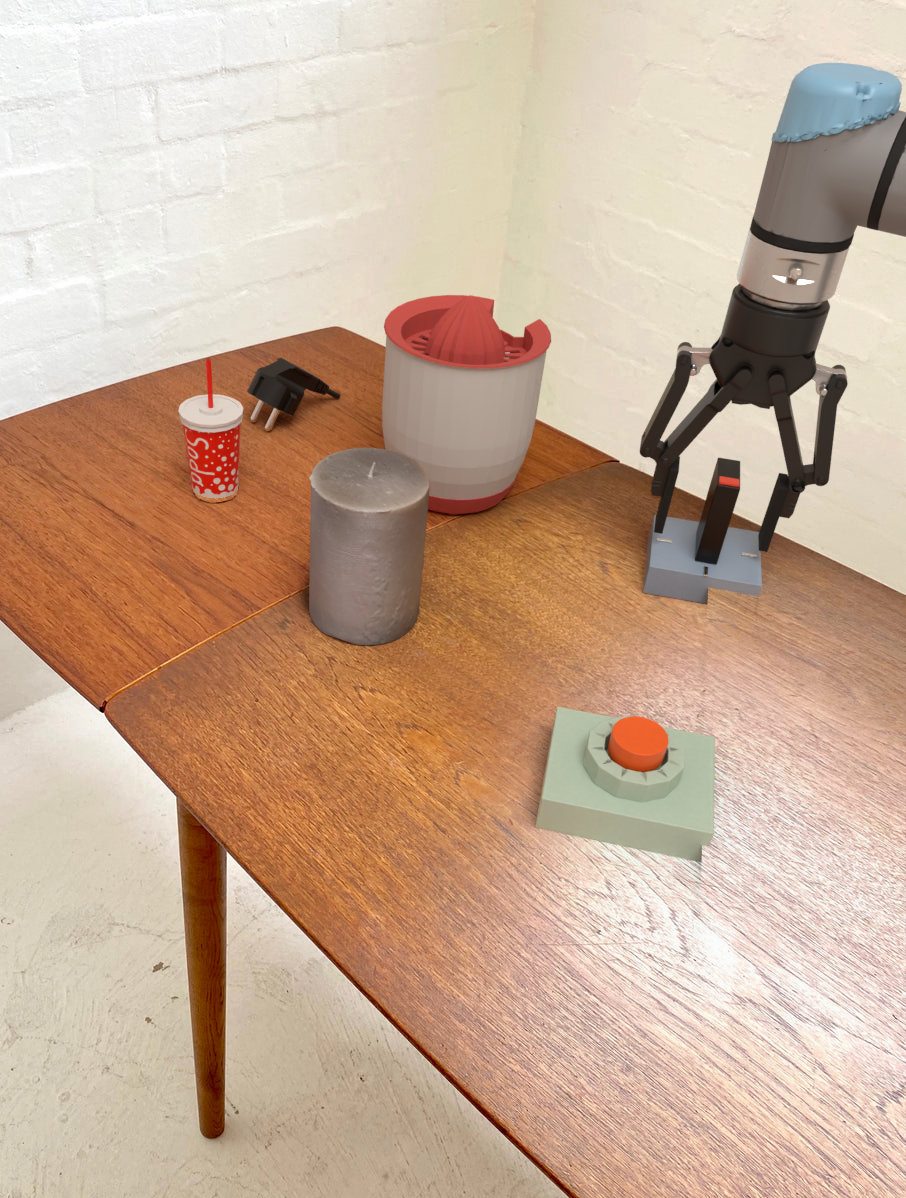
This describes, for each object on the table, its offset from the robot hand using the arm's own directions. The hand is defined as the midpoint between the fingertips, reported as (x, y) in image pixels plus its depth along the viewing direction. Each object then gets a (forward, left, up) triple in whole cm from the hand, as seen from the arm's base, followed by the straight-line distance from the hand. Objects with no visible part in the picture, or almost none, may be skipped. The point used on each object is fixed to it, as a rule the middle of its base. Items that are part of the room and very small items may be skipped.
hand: (710, 534), depth 102 cm
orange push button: (+5, +31, 0) cm, 31 cm away
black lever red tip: (0, 0, -2) cm, 2 cm away
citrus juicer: (+25, -9, -5) cm, 27 cm away
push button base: (+5, +31, -5) cm, 32 cm away
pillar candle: (+29, +15, -5) cm, 33 cm away
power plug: (+45, -18, -5) cm, 49 cm away
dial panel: (0, 0, -5) cm, 5 cm away
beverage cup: (+48, 0, -5) cm, 48 cm away
